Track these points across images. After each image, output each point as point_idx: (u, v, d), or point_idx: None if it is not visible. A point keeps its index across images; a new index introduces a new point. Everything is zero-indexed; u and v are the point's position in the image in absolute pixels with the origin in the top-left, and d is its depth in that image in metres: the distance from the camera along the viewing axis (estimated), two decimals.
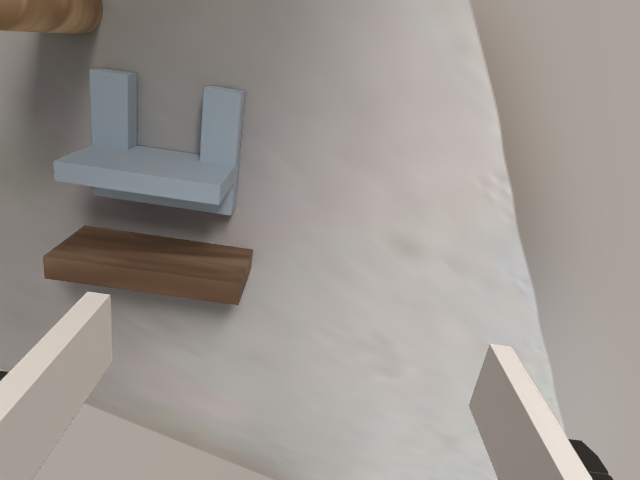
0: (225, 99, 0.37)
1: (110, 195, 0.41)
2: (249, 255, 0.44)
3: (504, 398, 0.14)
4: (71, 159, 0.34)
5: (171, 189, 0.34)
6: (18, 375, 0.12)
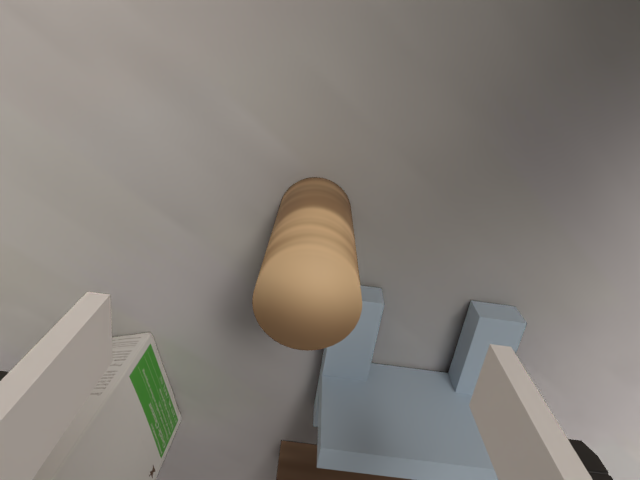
0: (504, 330, 0.29)
1: None
2: None
3: (504, 398, 0.14)
4: (335, 436, 0.26)
5: (468, 477, 0.26)
6: (18, 375, 0.12)
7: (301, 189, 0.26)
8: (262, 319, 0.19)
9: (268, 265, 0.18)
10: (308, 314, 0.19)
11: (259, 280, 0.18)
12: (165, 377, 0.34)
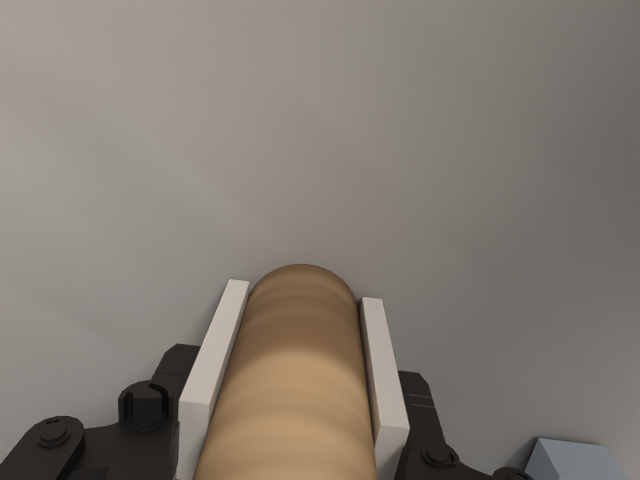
0: None
1: None
2: None
3: (363, 340, 0.16)
4: None
5: None
6: (211, 346, 0.14)
7: (277, 294, 0.16)
8: None
9: None
10: None
11: None
12: None
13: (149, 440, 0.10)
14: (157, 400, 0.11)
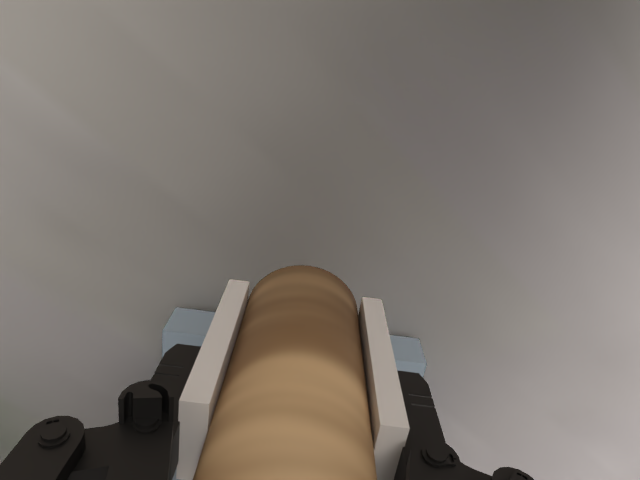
0: None
1: None
2: None
3: (363, 340, 0.16)
4: None
5: None
6: (211, 346, 0.14)
7: (277, 295, 0.16)
8: None
9: None
10: None
11: None
12: None
13: (149, 440, 0.10)
14: (157, 400, 0.11)
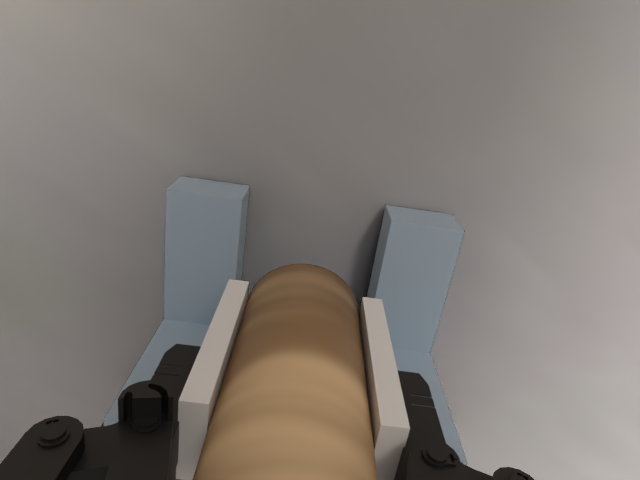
0: (431, 242, 0.19)
1: None
2: None
3: (363, 340, 0.16)
4: None
5: None
6: (211, 346, 0.14)
7: (277, 294, 0.16)
8: None
9: None
10: None
11: None
12: None
13: (148, 440, 0.10)
14: (156, 400, 0.11)
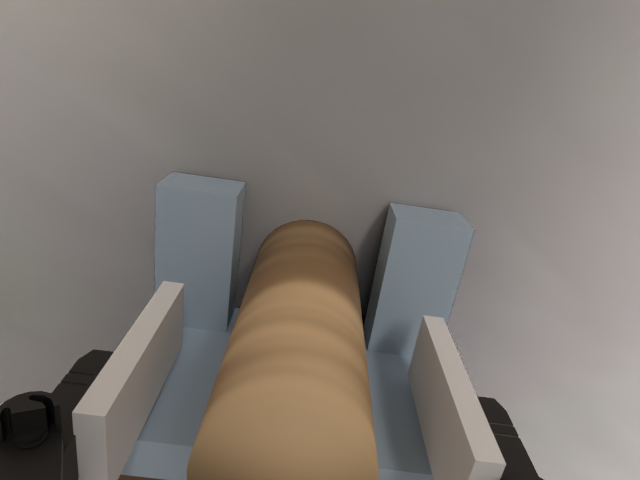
0: (438, 242, 0.18)
1: None
2: None
3: (430, 362, 0.16)
4: None
5: None
6: (124, 352, 0.13)
7: (285, 242, 0.18)
8: None
9: (214, 418, 0.10)
10: None
11: (197, 446, 0.10)
12: None
13: (35, 455, 0.10)
14: (40, 411, 0.10)
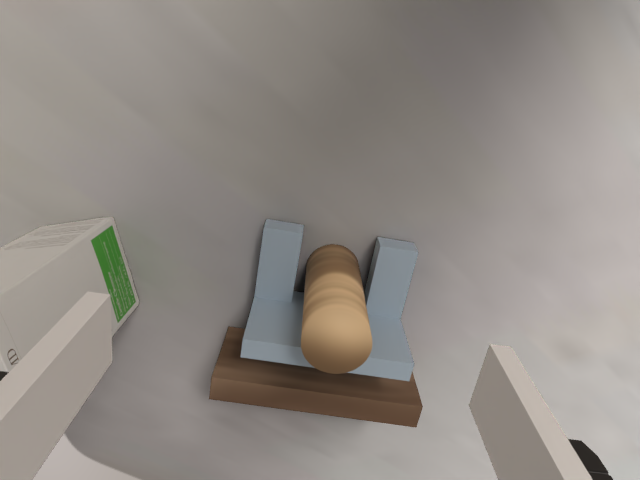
0: (401, 257, 0.36)
1: None
2: None
3: (504, 398, 0.14)
4: (256, 332, 0.33)
5: (362, 366, 0.33)
6: (18, 375, 0.12)
7: (325, 255, 0.36)
8: (306, 352, 0.29)
9: (312, 318, 0.28)
10: (336, 350, 0.29)
11: (306, 327, 0.28)
12: (125, 260, 0.38)
13: None
14: None
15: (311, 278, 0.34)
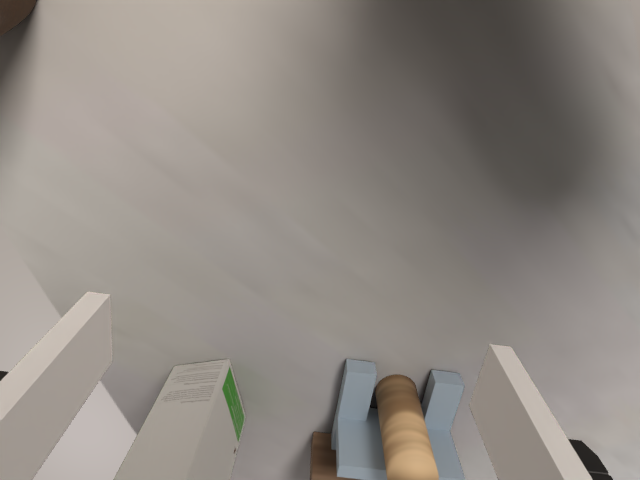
0: (451, 390, 0.47)
1: None
2: None
3: (504, 398, 0.14)
4: (347, 457, 0.44)
5: None
6: (18, 375, 0.12)
7: (393, 388, 0.47)
8: None
9: (395, 461, 0.40)
10: None
11: (392, 468, 0.40)
12: (237, 388, 0.50)
13: None
14: None
15: (385, 413, 0.45)
